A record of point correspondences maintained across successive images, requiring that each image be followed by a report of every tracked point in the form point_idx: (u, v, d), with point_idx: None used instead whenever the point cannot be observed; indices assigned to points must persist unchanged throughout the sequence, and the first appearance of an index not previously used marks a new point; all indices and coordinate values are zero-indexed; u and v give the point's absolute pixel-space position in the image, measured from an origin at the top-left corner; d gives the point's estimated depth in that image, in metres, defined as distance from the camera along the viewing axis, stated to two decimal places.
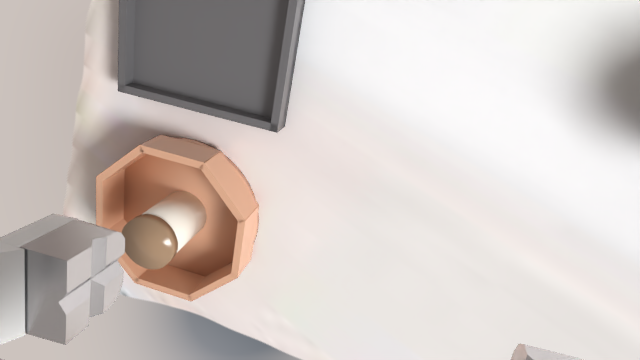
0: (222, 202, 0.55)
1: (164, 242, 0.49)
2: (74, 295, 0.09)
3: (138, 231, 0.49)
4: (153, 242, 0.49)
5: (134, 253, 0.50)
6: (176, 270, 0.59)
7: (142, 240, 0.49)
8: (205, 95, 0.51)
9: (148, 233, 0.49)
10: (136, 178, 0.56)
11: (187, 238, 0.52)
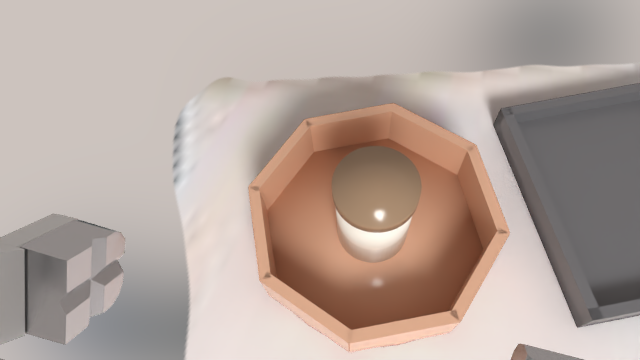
0: (419, 277, 0.36)
1: (397, 210, 0.30)
2: (74, 295, 0.09)
3: (391, 168, 0.32)
4: (388, 194, 0.31)
5: (349, 170, 0.32)
6: (271, 242, 0.38)
7: (379, 177, 0.31)
8: None
9: (398, 183, 0.31)
10: None
11: (378, 242, 0.33)
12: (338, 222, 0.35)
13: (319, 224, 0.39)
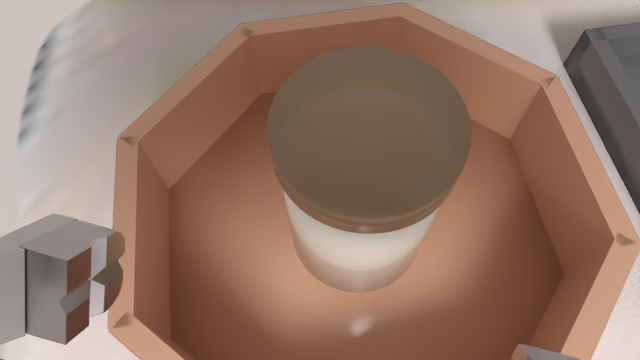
0: (444, 324, 0.19)
1: (417, 181, 0.13)
2: (74, 295, 0.09)
3: (404, 91, 0.14)
4: (395, 145, 0.13)
5: (309, 93, 0.14)
6: (165, 248, 0.20)
7: (376, 109, 0.14)
8: None
9: (419, 122, 0.14)
10: None
11: (368, 256, 0.16)
12: (288, 211, 0.17)
13: (260, 217, 0.21)
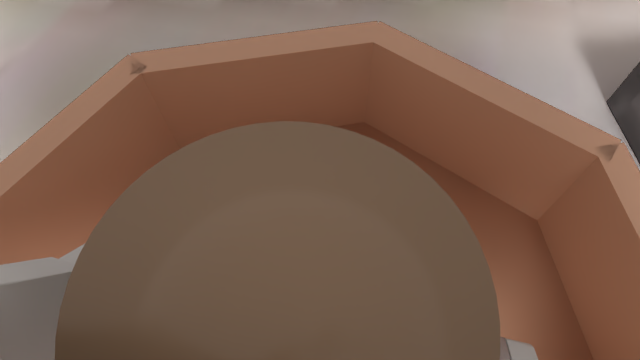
0: None
1: None
2: None
3: (358, 223, 0.07)
4: None
5: (163, 228, 0.07)
6: None
7: (298, 266, 0.07)
8: None
9: (388, 300, 0.06)
10: None
11: None
12: None
13: None
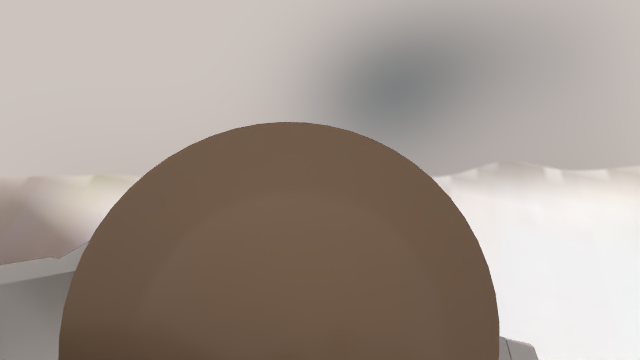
0: None
1: None
2: None
3: (358, 223, 0.07)
4: (333, 358, 0.06)
5: (166, 228, 0.07)
6: None
7: (299, 267, 0.07)
8: None
9: (388, 300, 0.06)
10: None
11: None
12: None
13: None
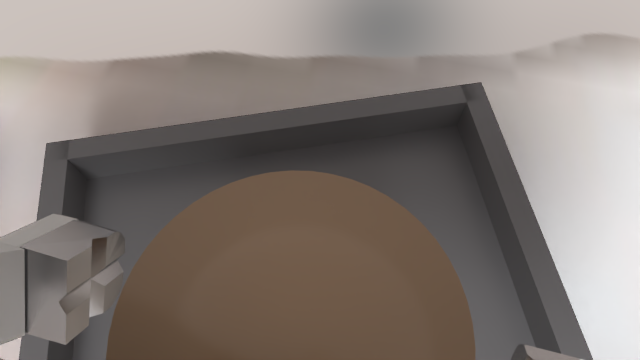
0: None
1: None
2: (74, 295, 0.09)
3: (357, 261, 0.08)
4: None
5: (192, 265, 0.08)
6: None
7: (307, 300, 0.08)
8: None
9: (382, 329, 0.08)
10: None
11: None
12: None
13: None
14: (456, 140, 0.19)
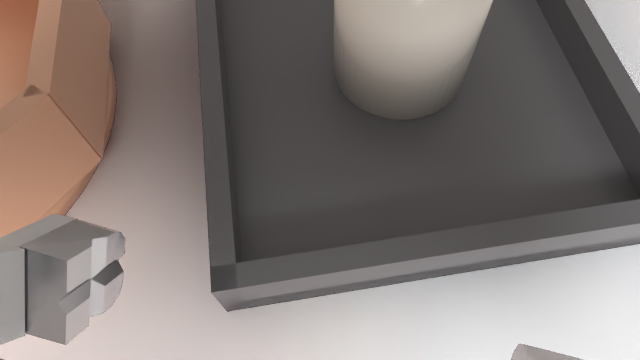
0: None
1: None
2: (74, 295, 0.09)
3: None
4: None
5: None
6: None
7: None
8: (243, 90, 0.20)
9: None
10: None
11: (425, 39, 0.15)
12: (338, 11, 0.17)
13: None
14: None
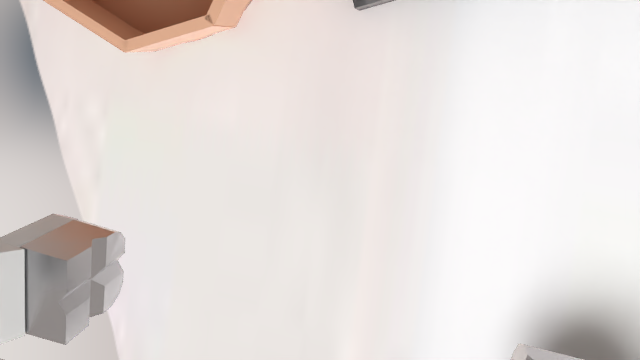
0: None
1: None
2: (74, 295, 0.09)
3: None
4: None
5: None
6: None
7: None
8: None
9: None
10: None
11: None
12: None
13: None
14: None
